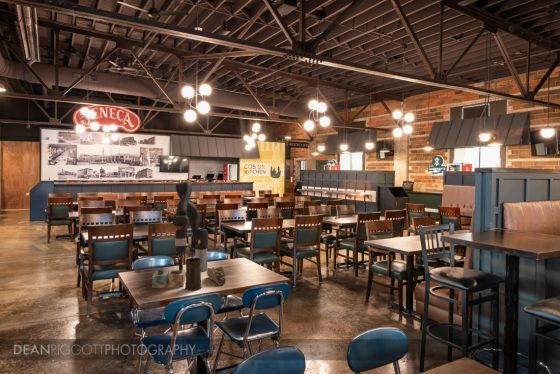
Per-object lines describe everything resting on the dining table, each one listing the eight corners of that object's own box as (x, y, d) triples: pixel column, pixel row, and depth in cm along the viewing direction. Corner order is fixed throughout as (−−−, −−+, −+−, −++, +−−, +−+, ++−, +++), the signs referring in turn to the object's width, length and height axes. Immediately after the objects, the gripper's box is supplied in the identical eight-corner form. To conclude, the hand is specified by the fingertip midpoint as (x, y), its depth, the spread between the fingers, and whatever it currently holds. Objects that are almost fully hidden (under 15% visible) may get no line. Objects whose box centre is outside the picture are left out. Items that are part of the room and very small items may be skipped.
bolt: (183, 271, 258) (183, 262, 258) (182, 272, 256) (182, 263, 255) (170, 272, 257) (170, 262, 257) (170, 273, 254) (170, 263, 254)
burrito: (215, 287, 250) (215, 272, 250) (204, 277, 274) (204, 264, 274) (229, 285, 255) (228, 270, 255) (216, 276, 279) (216, 262, 278)
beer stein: (186, 285, 253) (186, 257, 251) (202, 285, 253) (202, 256, 252) (182, 294, 237) (182, 263, 235) (199, 293, 238) (199, 263, 236)
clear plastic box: (185, 281, 264) (184, 265, 264) (183, 286, 250) (182, 270, 250) (155, 282, 261) (155, 267, 261) (152, 288, 247) (152, 271, 247)
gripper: (185, 246, 250) (185, 271, 250) (187, 242, 264) (187, 266, 264) (173, 246, 249) (174, 272, 249) (176, 243, 263) (176, 267, 263)
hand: (180, 269), depth 257 cm, fingers closed on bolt, 3 cm apart
